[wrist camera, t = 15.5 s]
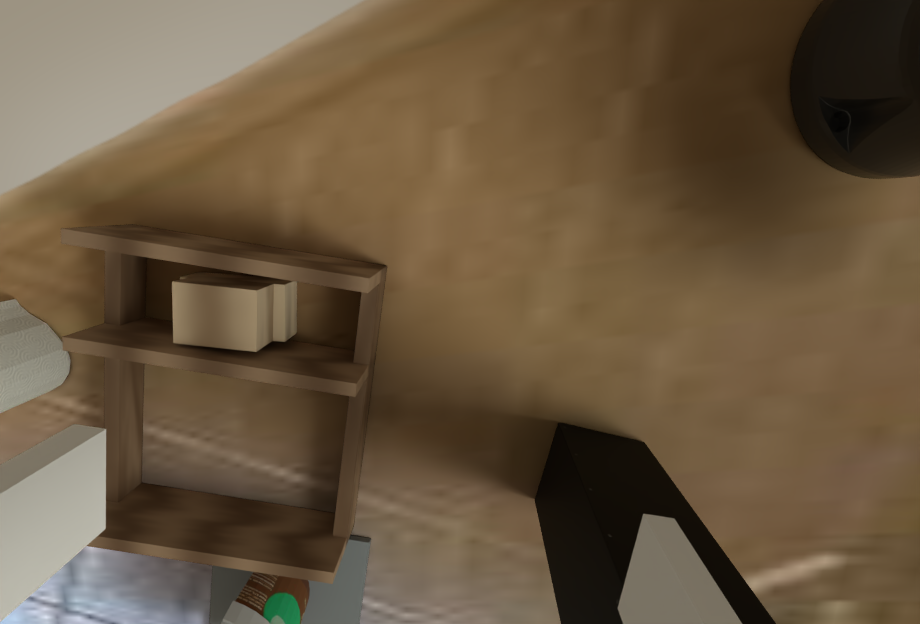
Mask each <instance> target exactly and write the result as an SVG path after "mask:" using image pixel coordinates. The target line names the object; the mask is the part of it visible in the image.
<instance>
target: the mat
mask: <svg viewBox="0 0 920 624" xmlns="http://www.w3.org/2000/svg"><path fill="white" fill-rule="evenodd" d="M370 542H371V538H365V537H359V536H353V535H350V538H349V540H348V543H347V546H346V548H345V551H344V554H343V557H342V559H341V562H340V565H339V568H338V570H337V573H336V576H335V578H334V581H333V584H329V583H323V582H317V581H310V580H308V581H309V587H310V594H309V600H308V603H307V607H306V610H305V613H304V616H303V619H302V622H301V624H359V621H360V614H361V607H362V600H363V592H364V585H365V578H366V571H367V564H368V556H369V549H370ZM252 573H253V572H252V571H245V570H239V569H233V568H226V567H220V566H212V583H211V600H210V617H209V624H221V623H222V621H223V618H224V616H225V614H226V613H227V611H228V609H229V607H230V605H231V604H232V602H233V601H235V600H236V599H237V597H238V596H239V594H240V592H241V591H242V589H243V588H244V586H245V584H246V583H247V581H248V580H249V578H250V576H251V575H252Z"/></svg>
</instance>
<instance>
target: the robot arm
mask: <svg viewBox="0 0 920 624" xmlns="http://www.w3.org/2000/svg"><path fill="white" fill-rule="evenodd" d="M791 101H792V107H793V112H794V115H795V119H796V122H797V124H798V127H799V129H800V131H801V133H802V135H803V137H804V138H805V140H806V141H807V143H808V144H809V146H810V147H811V148H812V149H813V151H814V152H815V153H816V154H817V155H818V156H819V157H821V158H822V159H823V160H824V161H825V162H827V163H828V164H830V165H831V166H833V167H835V168H836V169H838V170H840V171H843V172H845V173H848V174H851V175H854V176H858V177H863V178H873V179H886V178H901V177H912V176H919V175H920V0H823V2H822V3H821V4H820V5H819V7H818V8H817V9H816V11H815V12H814V14H813V15H812V17H811V18H810V20H809V22H808V24H807V26H806V27H805V29H804V32H803V34H802V36H801V38H800V41H799V43H798V46H797V49H796V52H795V56H794V60H793V66H792V72H791ZM105 529H106V429H103V428H97V427H91V426H84V425H78V424H73V425H72V426H70V427H68V428H66V429H64V430H63V431H61V432H59V433H57V434H55V435H53V436H52V437H50V438H48V439H46V440H44V441H43V442H41V443H39V444H37V445H35V446H33V447H32V448H30V449H28V450H26V451H24V452H23V453H21V454H19V455H17V456H15V457H14V458H12V459H10V460H8V461H6V462H4V463H3V464H1V465H0V622H1V621H2V620H3V619H4V618H5V617H7V616H8V615H9V614H10V613H11V612H12V611H13V610H14V609H16V608H17V607H18V606H19V605H20V604H21V603H22V602H23V601H25V600H26V599H27V598H28V597H29V596H30V595H31V594H33V593H34V592H35V591H36V590H37V589H38V588H39V587H40V586H42V585H43V584H44V583H45V582H46V581H47V580H48V579H49V578H51V577H52V576H53V575H54V574H55V573H56V572H57V571H59V570H60V569H61V568H62V567H63V566H64V565H65V564H66V563H68V562H69V561H70V560H71V559H72V558H73V557H74V556H75V555H77V554H78V553H79V552H80V551H81V550H82V549H83V548H85V547H86V546H87V545H88V544H89V543H90V542H91V541H92V540H94V539H95V538H96V537H97V536H98V535H99V534H100V533H101V532H103V531H104V530H105ZM618 611H619V614H620V616H621V619H622V622H623V624H742V623H741V621H740V619H739V618H738V616H737V615H736V613H735V612H734V610H733V609H732V607H731V606H730V604H729V602H728V601H727V599H726V598H725V596H724V595H723V593H722V592H721V590H720V589H719V587H718V585H717V584H716V582H715V581H714V579H713V578H712V576H711V575H710V573H709V572H708V570H707V568H706V567H705V565H704V564H703V562H702V561H701V559H700V558H699V556H698V554H697V553H696V551H695V550H694V548H693V547H692V545H691V544H690V542H689V541H688V539H687V537H686V536H685V534H684V533H683V531H682V530H681V528H680V527H679V525H678V524H677V522H676V520H675V519H674V518H668V517H662V516H655V515H649V514H643V517H642V520H641V524H640V528H639V531H638V535H637V539H636V542H635V546H634V550H633V553H632V557H631V561H630V564H629V568H628V572H627V576H626V579H625V583H624V587H623V590H622V594H621V598H620V601H619V605H618Z"/></svg>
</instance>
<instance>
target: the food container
mask: <svg viewBox="0 0 920 624" xmlns="http://www.w3.org/2000/svg"><path fill="white" fill-rule="evenodd" d="M309 594H310V587H309V581H308V580H304V579H297V578H291V577H284V576H278V575H271V574H265V573H258V572H253V573H252V575H251V576H250V578H249V580H248V581H247V583H246V584H245V586H244V588H243V589H242V591H241V592H240V594H239V596H238V597H237V599H236V600H235V601H233V602H232V604H231V605H230V607H229V609H228V611H227V613H226V614H225V616H224V618H223V621H222V623H221V624H301V622H302V619H303V616H304V613H305V610H306V607H307V603H308V600H309Z"/></svg>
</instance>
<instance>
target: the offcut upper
mask: <svg viewBox="0 0 920 624" xmlns="http://www.w3.org/2000/svg"><path fill="white" fill-rule="evenodd" d="M273 305H274V284H271V283H261V282H252V281H242V280H233V279H224V278H214V277H205V276H192V277H188V278H184V279H180V280H176V281H172V306H173V343H177V344H186V345H196V346H205V347H215V348H224V349H234V350H243V351H253V352H257V351H258V350H260V349H261V348H263V347H264V346H266V345H267V344H269V343H270V342H271V341H273Z"/></svg>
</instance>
